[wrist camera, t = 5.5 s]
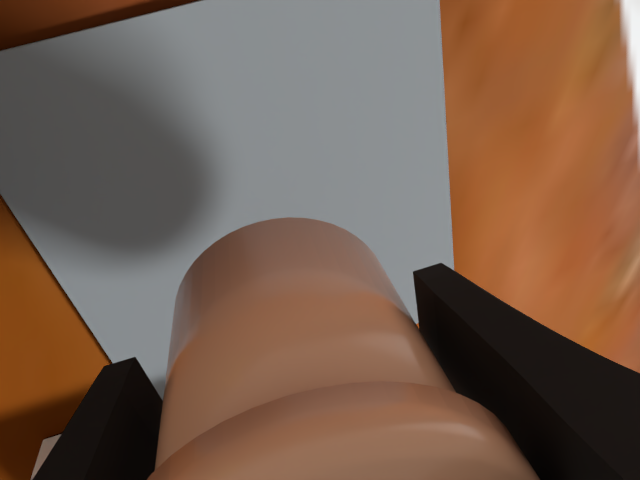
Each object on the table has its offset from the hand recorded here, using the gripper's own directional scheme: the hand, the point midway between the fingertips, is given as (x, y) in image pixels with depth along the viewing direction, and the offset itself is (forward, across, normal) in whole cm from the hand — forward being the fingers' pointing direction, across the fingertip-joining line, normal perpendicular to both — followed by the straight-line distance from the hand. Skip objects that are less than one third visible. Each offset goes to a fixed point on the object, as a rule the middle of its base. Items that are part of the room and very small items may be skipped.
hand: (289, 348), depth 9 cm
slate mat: (+6, 0, 0) cm, 6 cm away
